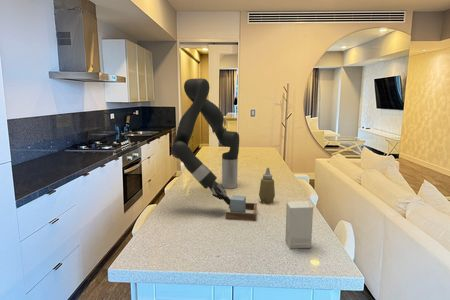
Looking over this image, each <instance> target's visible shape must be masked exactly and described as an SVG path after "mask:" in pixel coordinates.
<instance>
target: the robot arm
mask: <svg viewBox="0 0 450 300" xmlns="http://www.w3.org/2000/svg"><path fill="white" fill-rule="evenodd" d="M210 88H211V87H210V84H209V81H208V80H207V79H206V78H199V77H198V78H188V79H186V80H185V82H184V84H183V90H184V93H185V95H186V96H187V98H188V99H189V101H190V102H192V104H191V105H190V106H189V107H188V109H187V110H186V111H185V112H184V114H182V116H181V117H180V121H179V123H178V126H177V130H176V134H175V138H174V141H173V143H172V145H171V150H170V152H171V153H170V154H171V155H172V156H173V158H175V159H179V160H180V162H181V163H183V165H184V167H185V169H186V170H187V171H188V172H189V173H190V174H191V175H192V176H193V178H194V179H195V180H196V181H197V182H198V184H200V185H201V186H202V187H203V188H204V189H205V190H206V189H209V190H210V191H211V192H212V196H213V197H215V198H217V199H218V200H220V201H222V200H223V201H224V202H225V204H227V205H228V206H229V205H230V199H231V198H230V197H229V196H228V195H227V191H226V189H229V190H231V189H236V188H237V187H238V169H239V167H238V166H239V165H238V161H239V160H238V159H239V157H238V156H239V153H240V152H239V151H240V134H239V133H238V131H231V130H226V129H225V128H224V127H223V126H224V121H225V116H224V115H223V113H222V111H221V109H220V108H219V106H217V105H216V104H215V103H213V102H212V101H210V100H209V99H207V98H208V96H209V93H210ZM200 113H201V115H202V116H203V118H204V120H205V121H206V122H207V124H208V125H209V127H210V129H211V130H212V131H213V133H214V134H215V136H216V139H217V140H218V143H219V144H220V145H221V146H222V147H226V148H229V151H227V152H223V153H222V155H221V183H219V182H217V181H216V180H217V178H218V177H217V176H216V174H214V173H213V172H212V170H210V169H209V167H208V166H206V165H205V164H204V163H203V162H202V161H201V159H199V158H198V157H197V156H196V155H195V154H194V152H193V151H192V149H191V148H190V146H189V143H190V140H191V137H192V135H193V133H194V129H195V126H196V125H195V124H196V122H197V119H198V117H199V115H200Z"/></svg>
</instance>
